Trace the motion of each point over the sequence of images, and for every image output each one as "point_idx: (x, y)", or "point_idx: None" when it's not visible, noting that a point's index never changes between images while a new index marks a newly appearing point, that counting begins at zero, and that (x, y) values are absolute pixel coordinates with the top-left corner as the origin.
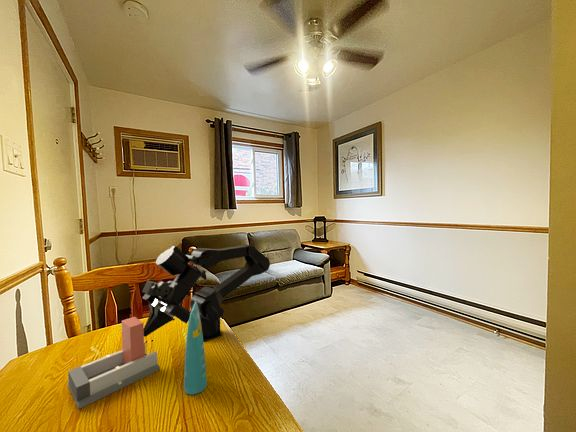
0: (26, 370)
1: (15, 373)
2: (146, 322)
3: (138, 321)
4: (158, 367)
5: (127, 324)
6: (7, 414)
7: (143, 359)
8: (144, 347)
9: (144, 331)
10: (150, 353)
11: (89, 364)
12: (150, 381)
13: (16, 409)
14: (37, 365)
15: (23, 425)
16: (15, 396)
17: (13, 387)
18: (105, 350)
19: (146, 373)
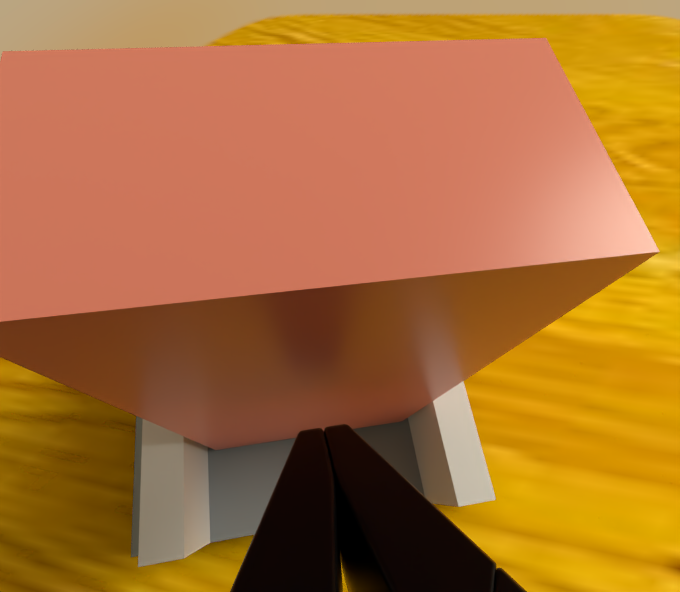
0: (626, 53)
1: (620, 32)
2: (459, 537)
3: (199, 247)
4: (134, 547)
5: (239, 59)
6: (334, 18)
7: (145, 422)
8: (442, 496)
9: (300, 458)
10: (179, 500)
11: None
12: (57, 456)
13: (345, 32)
14: (651, 76)
15: (223, 42)
16: (439, 31)
17: (511, 28)
18: (671, 296)
19: (137, 446)
